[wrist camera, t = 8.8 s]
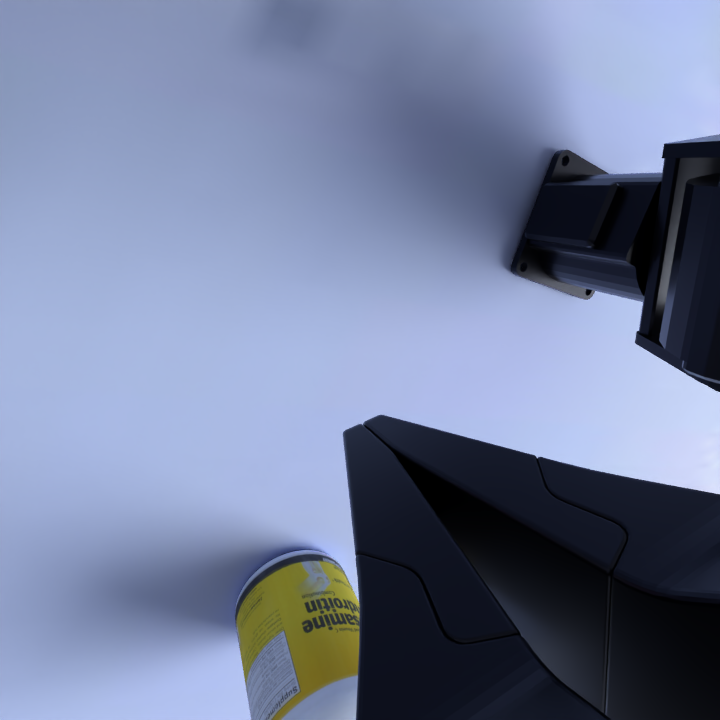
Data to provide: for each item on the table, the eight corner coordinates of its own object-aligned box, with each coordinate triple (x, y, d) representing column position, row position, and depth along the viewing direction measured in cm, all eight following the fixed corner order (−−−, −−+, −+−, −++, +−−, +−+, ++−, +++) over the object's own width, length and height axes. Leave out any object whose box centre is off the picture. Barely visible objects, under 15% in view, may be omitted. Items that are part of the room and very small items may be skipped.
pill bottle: (359, 581, 28) (472, 804, 18) (273, 650, 27) (341, 926, 17) (306, 523, 24) (409, 757, 14) (207, 599, 23) (242, 905, 13)
